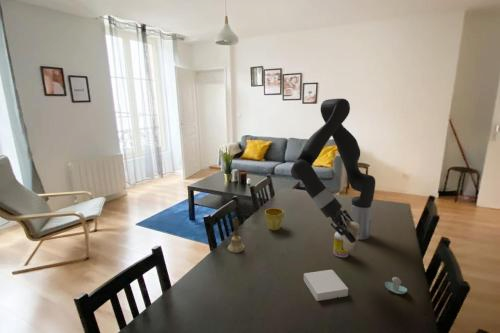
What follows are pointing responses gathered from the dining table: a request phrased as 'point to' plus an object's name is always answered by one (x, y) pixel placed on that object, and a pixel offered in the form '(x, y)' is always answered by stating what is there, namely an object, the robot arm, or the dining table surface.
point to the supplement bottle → (339, 246)
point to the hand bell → (236, 239)
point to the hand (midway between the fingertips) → (355, 238)
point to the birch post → (354, 230)
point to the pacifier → (395, 286)
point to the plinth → (325, 285)
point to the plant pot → (274, 218)
